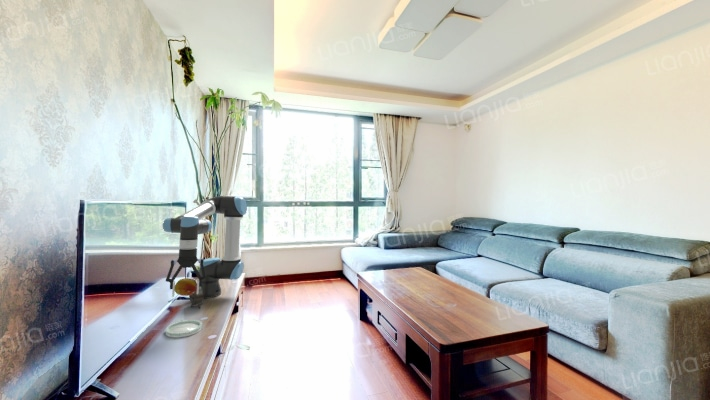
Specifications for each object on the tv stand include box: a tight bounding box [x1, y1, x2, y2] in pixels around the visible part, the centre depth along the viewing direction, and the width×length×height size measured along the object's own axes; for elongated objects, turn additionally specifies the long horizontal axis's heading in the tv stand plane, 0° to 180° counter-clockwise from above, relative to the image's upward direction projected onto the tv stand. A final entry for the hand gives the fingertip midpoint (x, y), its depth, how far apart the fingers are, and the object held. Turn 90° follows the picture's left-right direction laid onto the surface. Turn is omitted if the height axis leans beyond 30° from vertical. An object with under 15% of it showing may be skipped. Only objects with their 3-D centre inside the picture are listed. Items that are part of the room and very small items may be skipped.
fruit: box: [174, 277, 197, 297], centre depth 136 cm, size 10×9×8 cm
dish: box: [165, 319, 203, 339], centre depth 134 cm, size 15×15×2 cm
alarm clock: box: [188, 278, 204, 309], centre depth 163 cm, size 11×5×16 cm, turn 47°
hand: (185, 294), depth 136 cm, fingers closed on fruit, 9 cm apart
